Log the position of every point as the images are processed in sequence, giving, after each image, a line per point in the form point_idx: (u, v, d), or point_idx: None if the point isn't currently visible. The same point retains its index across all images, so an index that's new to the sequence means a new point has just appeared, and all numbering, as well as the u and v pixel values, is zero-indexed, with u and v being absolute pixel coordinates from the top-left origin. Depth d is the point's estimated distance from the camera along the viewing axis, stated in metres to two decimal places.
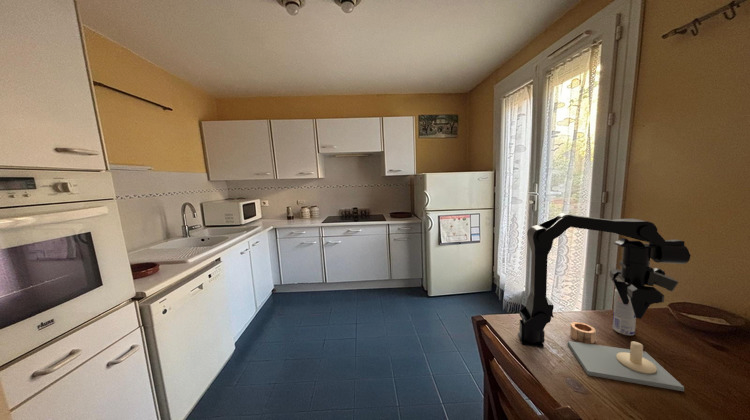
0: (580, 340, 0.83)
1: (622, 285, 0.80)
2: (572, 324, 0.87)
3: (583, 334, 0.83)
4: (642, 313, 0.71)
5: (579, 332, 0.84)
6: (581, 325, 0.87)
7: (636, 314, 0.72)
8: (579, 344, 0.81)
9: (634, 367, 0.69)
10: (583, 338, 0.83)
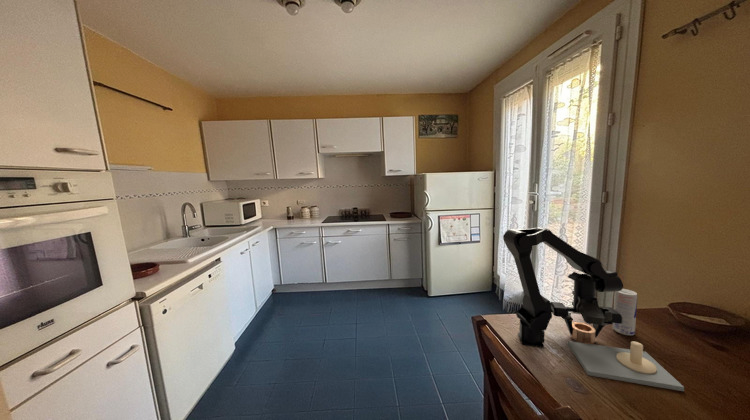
0: (580, 340, 0.83)
1: None
2: (572, 324, 0.87)
3: (583, 334, 0.83)
4: (569, 329, 0.86)
5: (579, 332, 0.84)
6: (581, 325, 0.87)
7: (568, 329, 0.87)
8: (579, 344, 0.81)
9: (634, 367, 0.69)
10: (583, 338, 0.83)
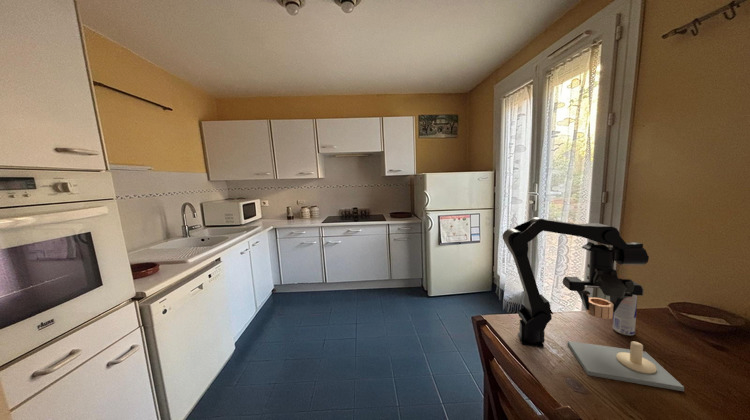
0: (598, 315, 0.78)
1: None
2: None
3: (601, 308, 0.77)
4: (585, 304, 0.81)
5: (596, 307, 0.78)
6: (597, 300, 0.82)
7: None
8: (579, 344, 0.81)
9: (634, 367, 0.69)
10: (601, 313, 0.78)
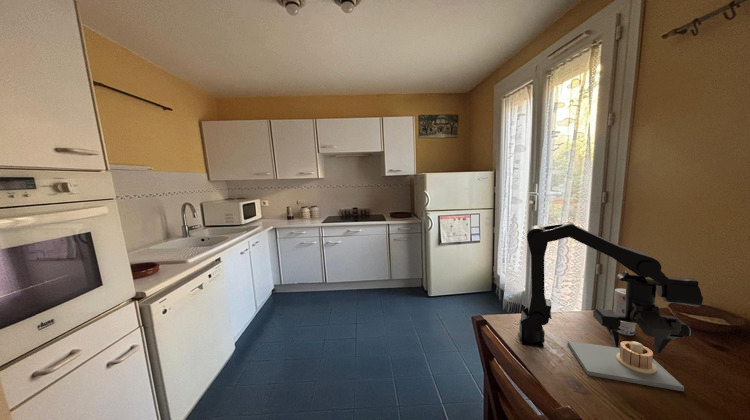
0: (635, 364, 0.70)
1: None
2: (622, 344, 0.73)
3: (638, 357, 0.69)
4: (615, 341, 0.72)
5: (633, 355, 0.70)
6: None
7: None
8: (579, 344, 0.81)
9: (634, 367, 0.69)
10: (638, 362, 0.69)
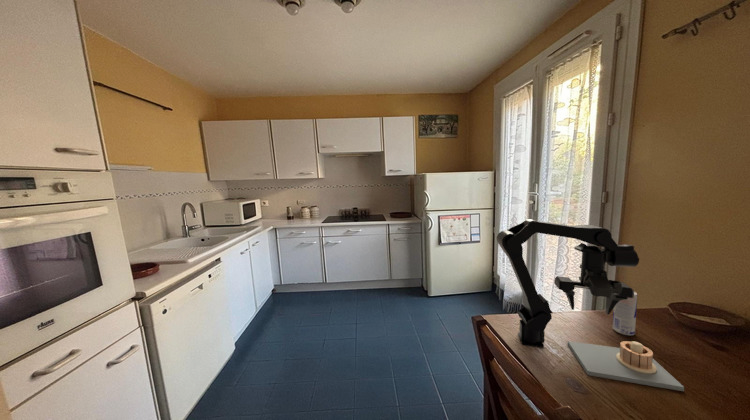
0: (635, 364, 0.70)
1: None
2: (622, 344, 0.73)
3: (638, 357, 0.69)
4: (571, 304, 0.82)
5: (633, 355, 0.70)
6: None
7: None
8: (579, 344, 0.81)
9: (634, 367, 0.69)
10: (638, 362, 0.69)
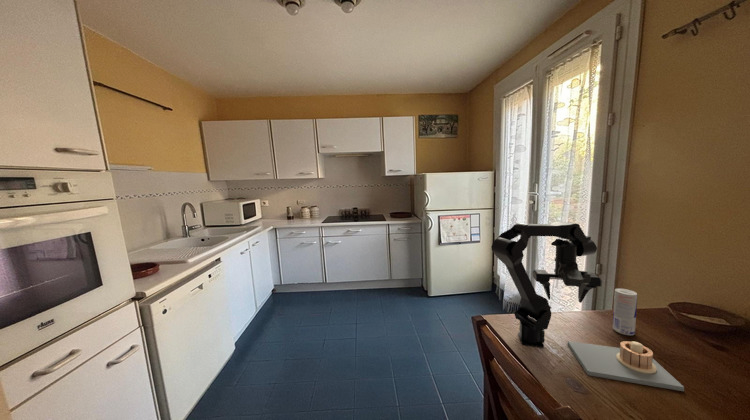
0: (635, 364, 0.70)
1: None
2: (622, 344, 0.73)
3: (638, 357, 0.69)
4: (547, 294, 0.89)
5: (633, 355, 0.70)
6: None
7: None
8: (579, 344, 0.81)
9: (634, 367, 0.69)
10: (638, 362, 0.69)
